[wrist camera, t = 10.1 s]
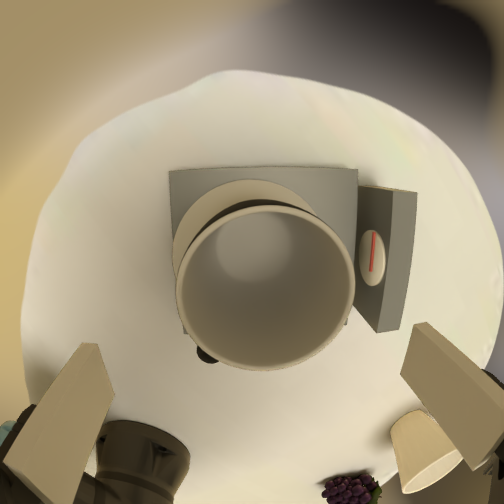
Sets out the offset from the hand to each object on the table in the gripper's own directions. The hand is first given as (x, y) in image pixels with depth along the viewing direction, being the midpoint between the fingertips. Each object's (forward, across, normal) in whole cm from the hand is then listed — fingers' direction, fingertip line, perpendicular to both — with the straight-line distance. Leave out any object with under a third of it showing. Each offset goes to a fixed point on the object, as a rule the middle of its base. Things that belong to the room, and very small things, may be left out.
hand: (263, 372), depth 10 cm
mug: (+14, 0, 0) cm, 14 cm away
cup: (+18, +27, -32) cm, 45 cm away
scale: (+17, +4, +1) cm, 18 cm away
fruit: (+18, +20, -49) cm, 56 cm away
